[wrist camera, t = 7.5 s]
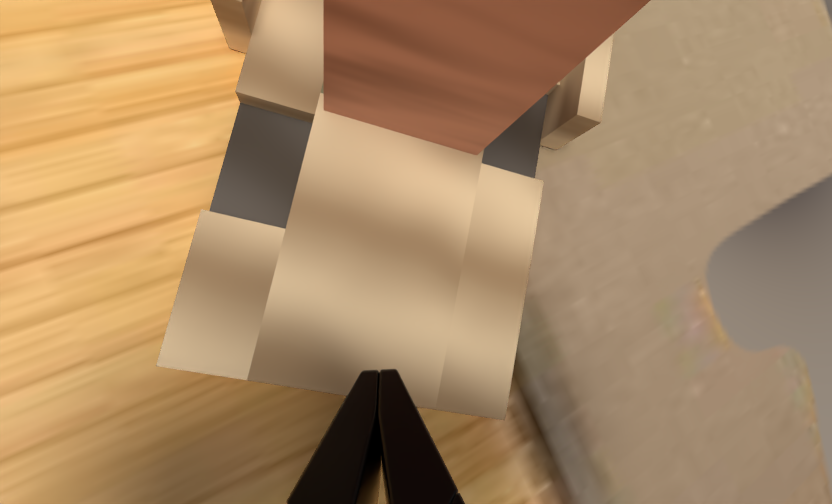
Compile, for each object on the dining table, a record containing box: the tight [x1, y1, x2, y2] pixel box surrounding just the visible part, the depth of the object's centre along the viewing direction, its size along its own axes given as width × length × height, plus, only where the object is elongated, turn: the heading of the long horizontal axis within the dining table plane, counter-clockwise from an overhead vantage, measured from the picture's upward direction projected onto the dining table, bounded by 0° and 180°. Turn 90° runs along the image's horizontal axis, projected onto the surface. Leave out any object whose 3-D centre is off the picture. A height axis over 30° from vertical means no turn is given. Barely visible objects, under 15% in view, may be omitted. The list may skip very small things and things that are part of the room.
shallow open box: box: [156, 0, 614, 420], centre depth 18 cm, size 25×16×4 cm, turn 168°
